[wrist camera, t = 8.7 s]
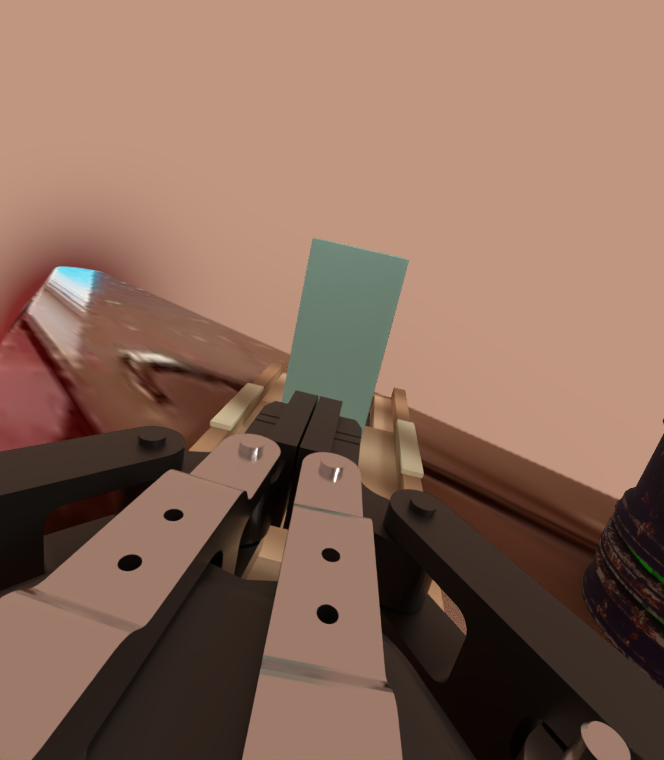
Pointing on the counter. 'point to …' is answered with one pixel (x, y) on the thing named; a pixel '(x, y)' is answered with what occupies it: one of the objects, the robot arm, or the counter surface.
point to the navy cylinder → (633, 573)
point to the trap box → (376, 458)
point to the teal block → (344, 325)
